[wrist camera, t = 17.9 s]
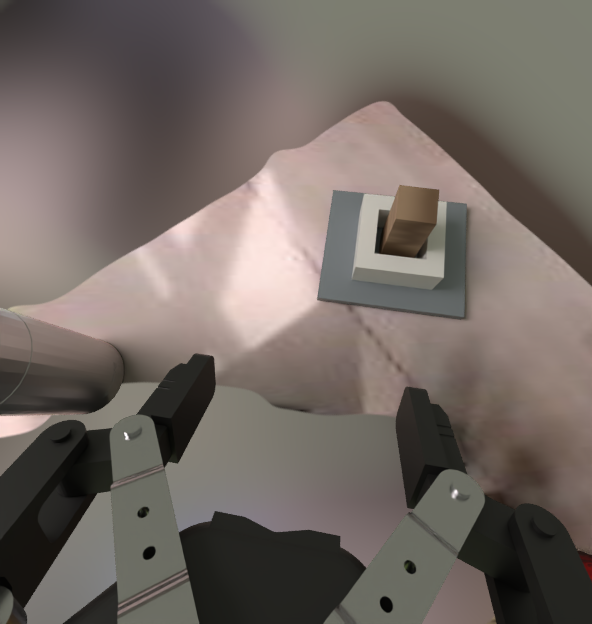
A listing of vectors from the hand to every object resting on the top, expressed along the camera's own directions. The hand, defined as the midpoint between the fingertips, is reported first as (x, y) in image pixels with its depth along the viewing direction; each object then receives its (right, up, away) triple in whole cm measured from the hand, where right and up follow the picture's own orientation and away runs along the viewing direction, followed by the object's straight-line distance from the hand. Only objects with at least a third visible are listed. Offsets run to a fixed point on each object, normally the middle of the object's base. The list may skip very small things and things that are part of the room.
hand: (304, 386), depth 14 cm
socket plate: (+13, +11, +30) cm, 35 cm away
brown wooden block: (+13, +11, +29) cm, 34 cm away
